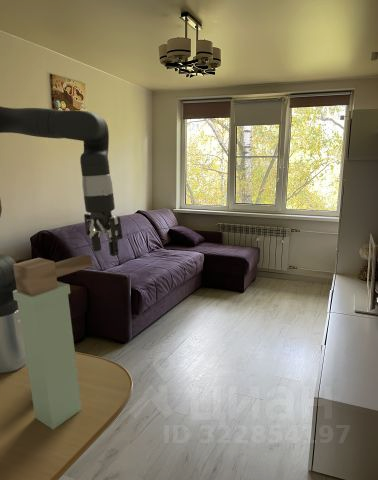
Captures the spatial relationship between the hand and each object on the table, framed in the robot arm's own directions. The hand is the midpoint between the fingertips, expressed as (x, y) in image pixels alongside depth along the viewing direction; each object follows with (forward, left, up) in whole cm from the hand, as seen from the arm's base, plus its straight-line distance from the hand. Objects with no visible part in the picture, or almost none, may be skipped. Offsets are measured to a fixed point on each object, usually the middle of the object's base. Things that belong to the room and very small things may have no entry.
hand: (105, 253), depth 99 cm
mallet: (+3, -17, -2) cm, 18 cm away
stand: (+3, -22, -34) cm, 41 cm away
